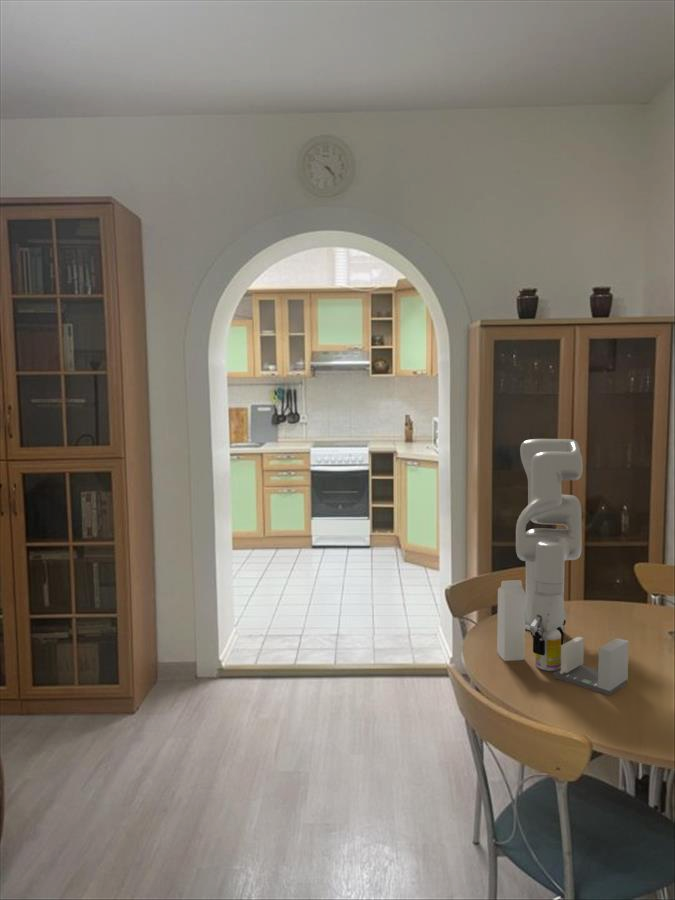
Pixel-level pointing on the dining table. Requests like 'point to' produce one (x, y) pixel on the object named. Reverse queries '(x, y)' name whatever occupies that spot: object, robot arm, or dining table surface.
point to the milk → (511, 621)
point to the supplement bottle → (550, 652)
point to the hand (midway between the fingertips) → (548, 649)
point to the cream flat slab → (572, 654)
